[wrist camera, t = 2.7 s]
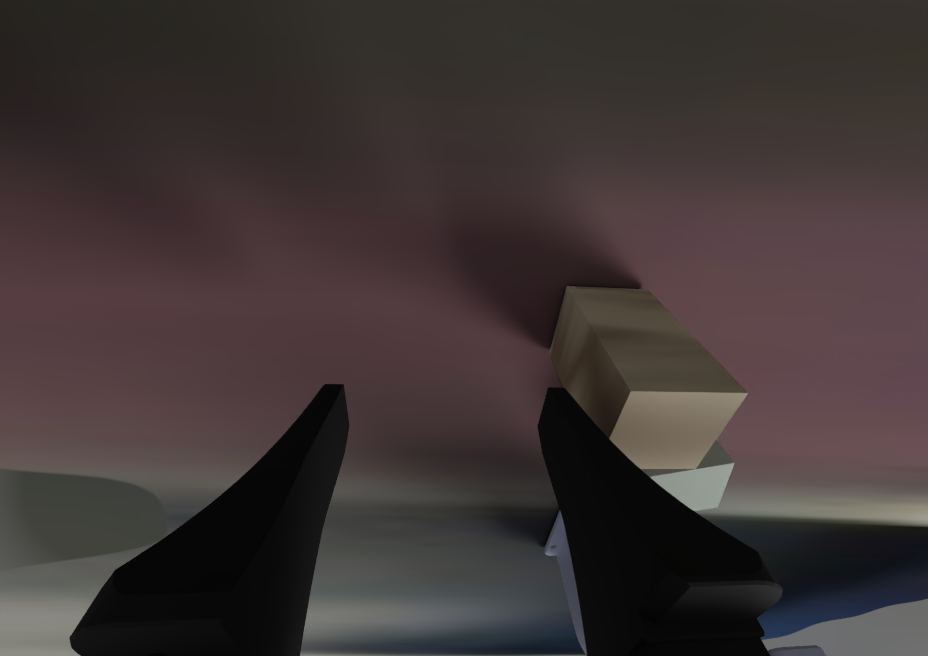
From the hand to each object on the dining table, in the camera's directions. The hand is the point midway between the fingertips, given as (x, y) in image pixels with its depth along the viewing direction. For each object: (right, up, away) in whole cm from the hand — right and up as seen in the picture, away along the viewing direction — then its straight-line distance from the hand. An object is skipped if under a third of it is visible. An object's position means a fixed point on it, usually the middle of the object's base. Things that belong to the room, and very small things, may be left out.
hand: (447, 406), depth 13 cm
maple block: (+7, +3, +5) cm, 10 cm away
